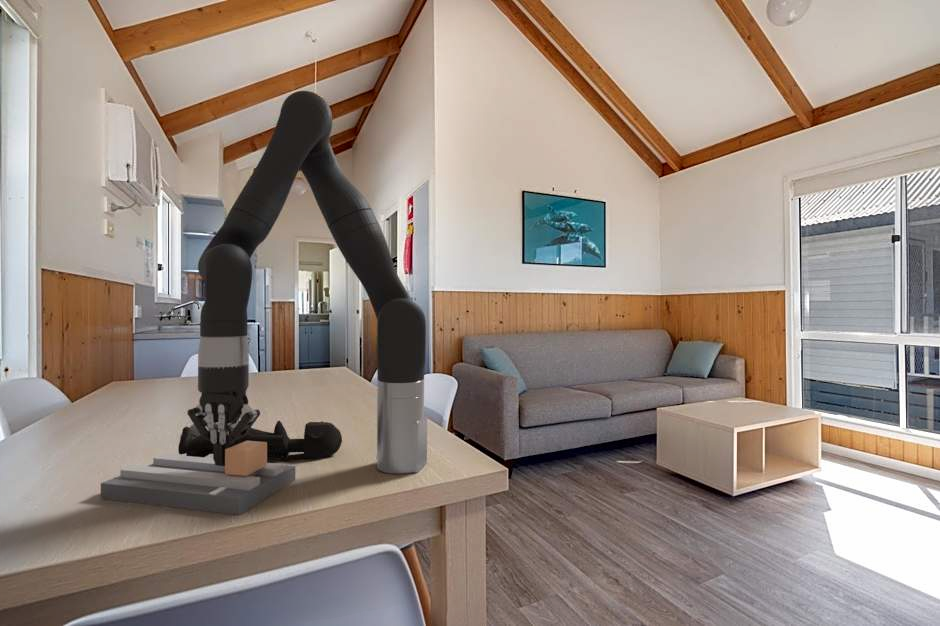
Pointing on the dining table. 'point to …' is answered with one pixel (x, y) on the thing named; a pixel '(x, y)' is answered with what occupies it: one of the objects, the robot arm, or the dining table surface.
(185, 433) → the figurine
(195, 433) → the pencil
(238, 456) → the block
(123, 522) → the dining table surface
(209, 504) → the twin slider track
